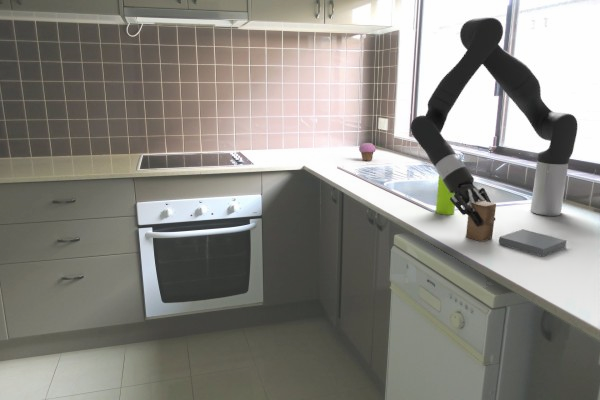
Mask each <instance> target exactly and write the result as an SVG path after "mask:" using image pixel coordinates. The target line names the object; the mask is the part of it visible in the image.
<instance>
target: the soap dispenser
mask: <svg viewBox="0 0 600 400" xmlns="http://www.w3.org/2000/svg"><path fill="white" fill-rule="evenodd" d="M437 184H438V185H437V194H436V204H435V205H436V207H435V212H436V213H437V214H439V215H449V216H450V215H454V214H455V207H456V206H455V205H454V204H453V203H452V201H451V200H450V198H451V197H452V196H453V195H454V194H455V193H450V191H449V190H448V188H447V187H446V185H445V184H444V182H443V180H442V179H441V177H440V176H439V175H438V181H437Z"/></svg>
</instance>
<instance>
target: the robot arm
mask: <svg viewBox="0 0 600 400" xmlns="http://www.w3.org/2000/svg"><path fill="white" fill-rule="evenodd" d="M503 34H504V26H503V24H502V22H501V21H500V20H499V19H497V18H495V17H477V18H472V19H469V20H467V21H465V23H464V24H462V26H461V28H460V32H459V38H460V42H461V44H462V45H463V47H464V48H465V49H466V51H465V52H464V54H463V56H462V58H461V59H459V60H458V62H457V63H456V64H455V65H454V67H452V69H450V70H449V72H447V74H445V76H443V78H442V79H441V80H440V81H439V82H438V85H437V86H436V88H435V89H434V91H433V93H432V94H431V96H430V98H429V99H428V103H427V111H426V114H425V115H419V116H418V115H417V116H416V117H415V118H414V119H412V121H411V123H410V132H411V135H412V137H414V139H415V141H416V142H417V143H418V145H420V147H421V148H422V149H423V151H425V152H424V153H426V155H427V157H428V158H429V161H430V162H431V163H432V164H433V166H434V168H435V170H436V172H437V174H438V177H439V176H440V177H441V179H442V180H443V182H444V184H445V185H446V187H447V188H448V190H449V191H450V193H455V194H454V195H453V196H452V197H451V198H450V200H451V201H452V203H453V204H454V205H455V207H456V209H457V210H458V211H459V212H460V213H461V214H462V216H465V215H467V217H468V216H470V217H471V219H472V220H473V222H474V223H475V224H476V226H477V227H479V226H481V225H482V224H483V223H484V222H483V220H482V218H481V217H480V215H479V214H478V212H475V211H476V209H475V207H474V206H473V203H475V202H474V201H478V200H480V201H486V202H490V203H492V201H491V199H490V197H489V195H488V194H487V191H486V190H485V188H484V187H481V188H480V189H479V188H477V187H476V186H475V185H474V184H473V183H474V180H475V178H474V177H473V175H472V173H471V172H470V171H469V169H468V168H467V166H466V165H465V163H464V162H463V161H462V159H461V157H459V156H458V155H457V153H456V151H455V150H454V149H453V147H452V146H451V144H450V143H449V142H448V141H447V140H446V139H445V138H444V137H443V135H442V134H441V132H442V130H443V128H444V127H445V124H446V122H447V118H448V115H449V113H450V112H451V110H452V108H453V107H454V105H455V103H456V102H457V100H458V98H459V97H460V95H461V94H462V92H463V90H464V89H465V88H466V86H467V85H468V83H469V82H470V80H471V79H472V78H473V76H474V75H475V74H476V72H477V71H478V70H479V69H480V67H481V66H484V68H485V69H486V70H487V72H488V73H489V74H490V75H491V76H492V78H493V79H494V80H495V81H496V83H497V84H498V85H499V86H500V87H501V89H502V90H503V91H504V92H505V94H506V95H507V96H508V97H509V98H510V99H511V101H512V102H513V103H514V104H515V105H516V106H517V108H518V109H519V110H520V112H522V113H523V115H524V116H525V117H526V118H527V120H528V122H529V123H530V125H531V127H532V129H533V130H534V131H535V133H536V134H537V136H538V137H539V138H540V139H542V140H545V141H550V143H549V147H548V148H547V149H546V150H544V151H540V152H538V154H537V160H536V168H535V176H534V183H533V190H532V198H531V202H530V203H531V204H530V212H531V213H533V214H537V215H541V216H549V217H550V216H551V217H552V216H553V217H554V216H556V217H557V216H560V215H561V214H562V207H563V201H564V196H565V188H566V182H567V174H568V169H569V162H570V158H571V156H572V155H573V152H574V150H575V149H574V147H575V143H576V139H577V133H578V121H577V118H576V117H575V116H574V115H573V114H572V113H565V112H555V111H553V110H551V109H550V108H549V107H548V106H547V105H546V104H545V102H544V101H543V99H542V97H541V96H542V94H541V84H540V81H539V80H538V78H537V76H536V75H535V74H534V73H533V72H532V70H531V69H530V68H529V66H527V65H526V64H525V63H524V62H522V61H521V60H520V59H518V58H517V57H515V56H514V55H512V54H511V53H509V52H507V51H506V50H505V49H503V48H502V46H501V45H500V42H501V40H502V38H503ZM469 206H470V207H469ZM495 221H496V217H495V218H494V222H495Z"/></svg>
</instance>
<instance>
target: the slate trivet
mask: <svg viewBox="0 0 600 400" xmlns="http://www.w3.org/2000/svg"><path fill="white" fill-rule="evenodd" d="M498 238H499V239H498V244H499V245H503V246H506V247H509V248H512V249H514V250H519V251H522V252H525V253H529V254H532V255H535V256H539V257H545V256H548V255H551V254H553V253H555V252H557V251H560V250H562V249H564V248H566V244H567V240H566V239H562V238H559V237H554V236H552V235H548V234H542V233H540V232H539V233H538V232H536V231H531V230H528V229H523V228H522V229H519V230H516V231H512V232H510V233H507V234H504V235H501V236H499V237H498Z"/></svg>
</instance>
